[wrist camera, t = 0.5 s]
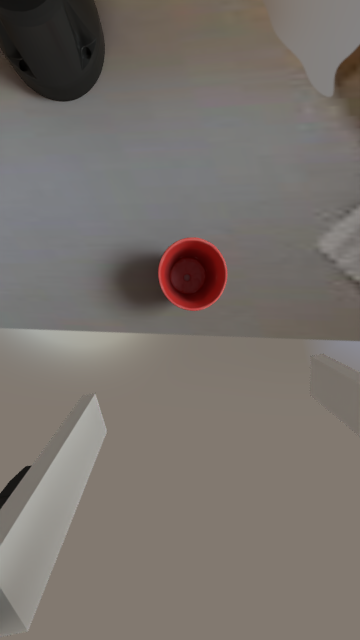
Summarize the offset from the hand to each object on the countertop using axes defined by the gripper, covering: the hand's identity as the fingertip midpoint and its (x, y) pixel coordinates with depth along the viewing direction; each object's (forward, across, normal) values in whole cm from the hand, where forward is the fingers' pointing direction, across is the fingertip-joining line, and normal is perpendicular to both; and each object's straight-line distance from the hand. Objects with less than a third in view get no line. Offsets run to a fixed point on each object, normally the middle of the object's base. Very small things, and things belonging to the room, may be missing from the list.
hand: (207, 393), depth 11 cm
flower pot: (+29, +3, +7) cm, 29 cm away
